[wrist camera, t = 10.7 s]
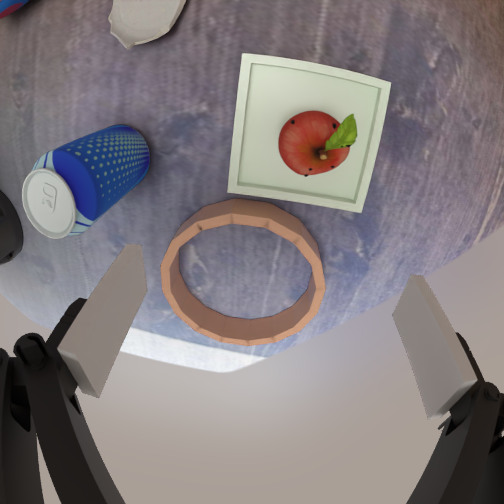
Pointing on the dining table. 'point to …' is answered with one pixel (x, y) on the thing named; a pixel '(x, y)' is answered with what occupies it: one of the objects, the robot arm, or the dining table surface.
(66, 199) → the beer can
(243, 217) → the ring band
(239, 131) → the tray
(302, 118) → the apple
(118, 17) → the pottery shard
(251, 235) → the dining table surface
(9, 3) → the ceramic pot
